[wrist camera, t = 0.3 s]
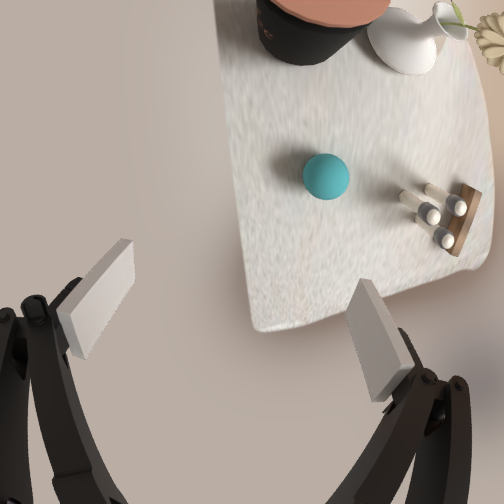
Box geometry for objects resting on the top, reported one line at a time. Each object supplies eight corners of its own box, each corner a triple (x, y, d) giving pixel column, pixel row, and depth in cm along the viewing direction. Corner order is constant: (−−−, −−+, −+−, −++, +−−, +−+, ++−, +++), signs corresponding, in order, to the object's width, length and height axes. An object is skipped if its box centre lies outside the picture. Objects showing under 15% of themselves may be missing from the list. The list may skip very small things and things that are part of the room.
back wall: (463, 183, 34) (475, 189, 31) (470, 187, 34) (482, 193, 31) (440, 245, 40) (450, 254, 37) (447, 247, 40) (457, 257, 37)
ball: (305, 146, 34) (313, 151, 29) (346, 157, 34) (361, 164, 29) (295, 187, 37) (301, 199, 32) (335, 197, 37) (347, 210, 32)
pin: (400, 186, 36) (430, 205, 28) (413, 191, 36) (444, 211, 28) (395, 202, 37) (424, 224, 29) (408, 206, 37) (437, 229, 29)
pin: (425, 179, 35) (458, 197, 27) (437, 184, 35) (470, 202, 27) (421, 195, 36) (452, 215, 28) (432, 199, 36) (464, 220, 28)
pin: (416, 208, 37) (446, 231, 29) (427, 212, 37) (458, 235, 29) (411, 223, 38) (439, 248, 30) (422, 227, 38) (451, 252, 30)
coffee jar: (272, -6, 24) (278, -79, 8) (346, 20, 25) (400, -34, 9) (247, 53, 28) (234, -2, 12) (324, 79, 30) (376, 49, 14)
